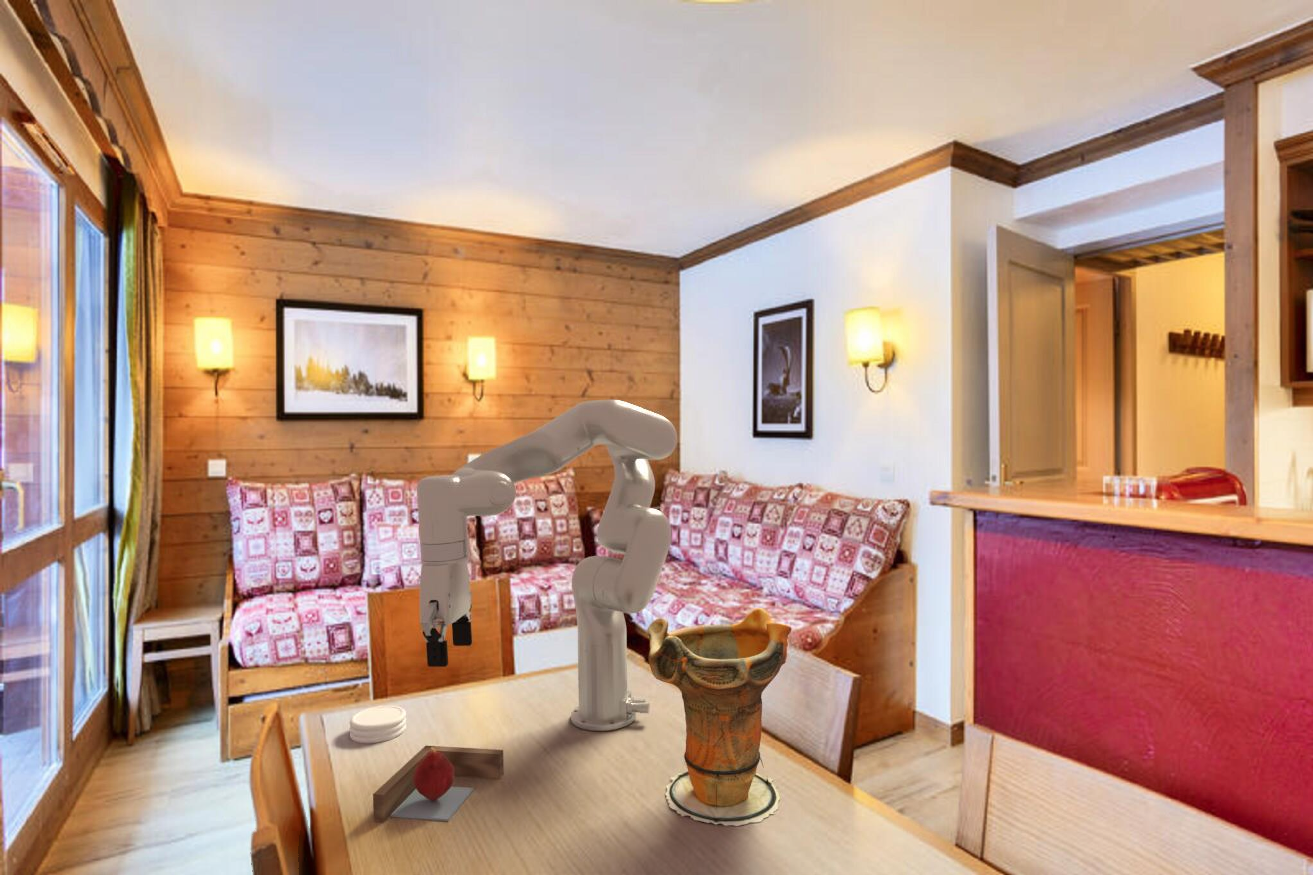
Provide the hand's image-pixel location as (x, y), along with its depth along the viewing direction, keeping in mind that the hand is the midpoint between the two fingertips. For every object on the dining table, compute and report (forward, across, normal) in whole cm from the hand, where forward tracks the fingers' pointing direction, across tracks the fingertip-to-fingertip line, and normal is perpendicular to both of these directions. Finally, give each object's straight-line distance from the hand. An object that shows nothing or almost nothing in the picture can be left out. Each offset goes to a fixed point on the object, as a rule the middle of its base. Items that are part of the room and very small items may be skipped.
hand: (450, 655), depth 116 cm
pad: (+20, +9, 0) cm, 22 cm away
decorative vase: (+21, +2, +44) cm, 49 cm away
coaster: (+20, -15, -22) cm, 33 cm away
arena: (+20, +7, 0) cm, 21 cm away
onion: (+20, +9, 0) cm, 21 cm away
